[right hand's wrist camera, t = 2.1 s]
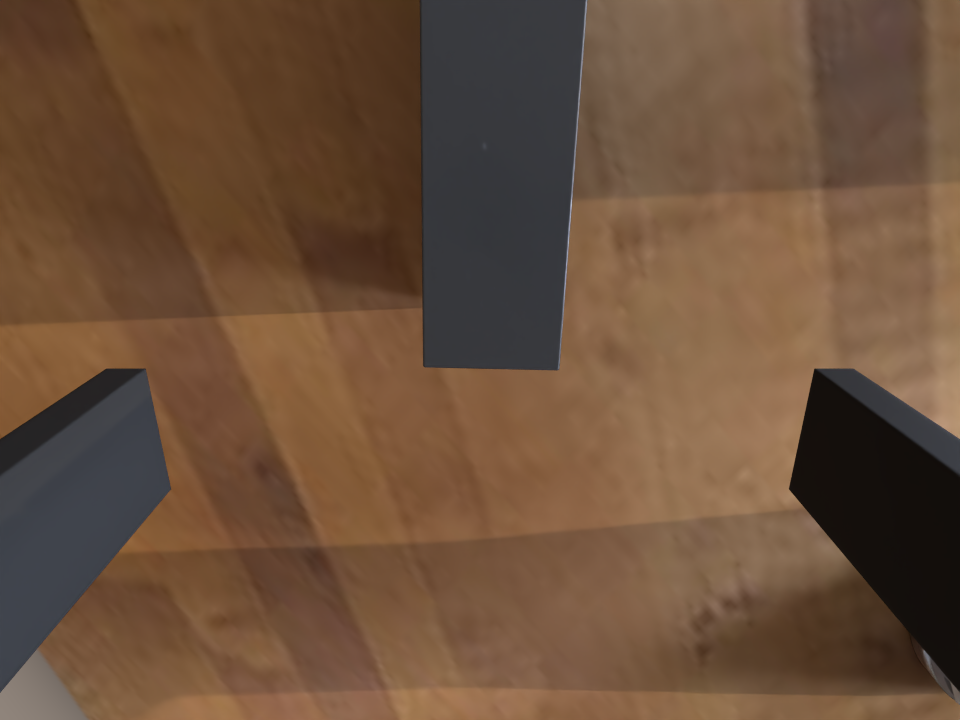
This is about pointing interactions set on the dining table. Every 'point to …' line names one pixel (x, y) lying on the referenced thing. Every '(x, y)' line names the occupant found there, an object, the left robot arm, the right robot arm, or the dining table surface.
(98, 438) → the right robot arm
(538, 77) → the beam
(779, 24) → the dining table surface
